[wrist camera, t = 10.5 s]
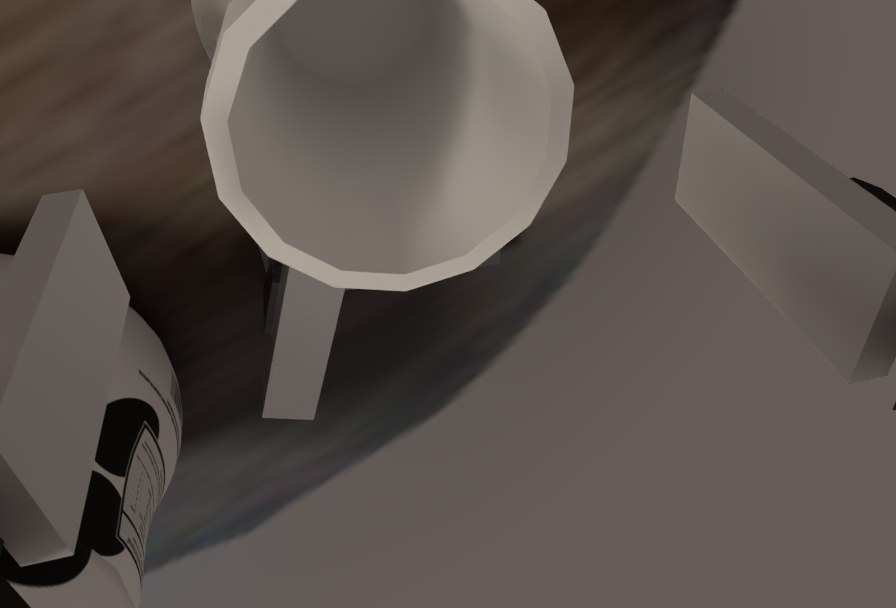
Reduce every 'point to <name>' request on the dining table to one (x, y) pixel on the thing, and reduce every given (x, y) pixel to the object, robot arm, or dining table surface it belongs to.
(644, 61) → the dining table surface
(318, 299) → the shaft stand
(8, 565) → the milk container
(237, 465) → the dining table surface
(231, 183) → the foam cup
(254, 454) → the dining table surface
